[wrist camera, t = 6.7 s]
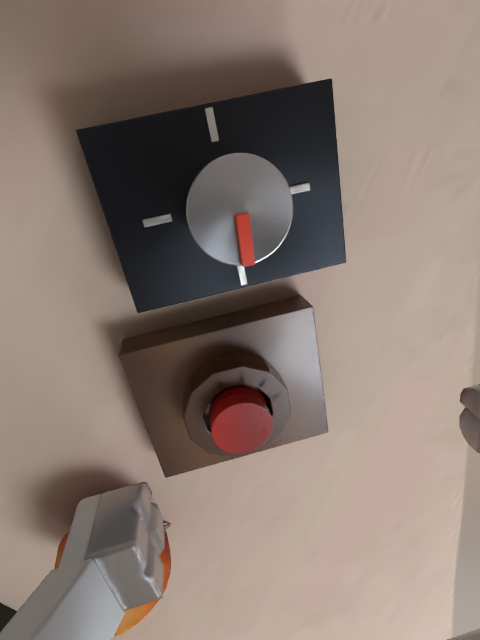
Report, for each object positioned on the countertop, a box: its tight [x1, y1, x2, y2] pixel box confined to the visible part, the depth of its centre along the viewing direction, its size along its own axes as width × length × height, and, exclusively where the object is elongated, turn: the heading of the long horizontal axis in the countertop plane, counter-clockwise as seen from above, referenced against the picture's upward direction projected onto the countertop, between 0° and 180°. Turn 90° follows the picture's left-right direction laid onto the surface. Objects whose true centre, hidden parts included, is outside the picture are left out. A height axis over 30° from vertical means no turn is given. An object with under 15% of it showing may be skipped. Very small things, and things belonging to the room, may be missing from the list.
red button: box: [209, 386, 273, 454], centre depth 22 cm, size 4×4×2 cm
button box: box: [119, 296, 328, 478], centre depth 24 cm, size 12×10×4 cm
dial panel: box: [76, 79, 346, 313], centre depth 20 cm, size 12×9×3 cm
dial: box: [184, 153, 293, 267], centre depth 16 cm, size 4×4×4 cm
